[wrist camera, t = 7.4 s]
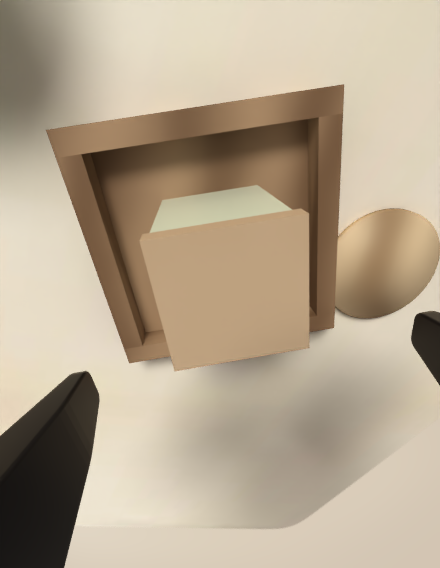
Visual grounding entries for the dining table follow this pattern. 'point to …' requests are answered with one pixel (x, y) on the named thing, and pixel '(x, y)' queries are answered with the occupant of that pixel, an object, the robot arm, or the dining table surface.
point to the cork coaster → (384, 262)
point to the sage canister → (229, 276)
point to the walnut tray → (201, 189)
